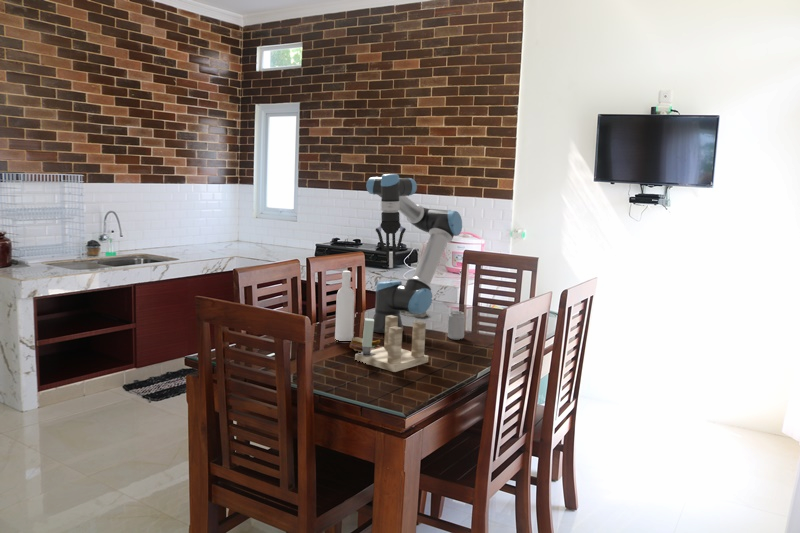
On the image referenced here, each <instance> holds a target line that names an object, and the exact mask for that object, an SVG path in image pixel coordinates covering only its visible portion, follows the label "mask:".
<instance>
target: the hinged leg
mask: <svg viewBox="0 0 800 533" xmlns="http://www.w3.org/2000/svg"><path fill="white" fill-rule="evenodd" d="M373 328H374V319H373V318H366V317H365V318H364V321H363V333H362V338H363V341H362V347H363V353H364V354H366V355H367V354H369V353H370V352H371V349H370V347H372V341H373V338H374V331H373Z"/></svg>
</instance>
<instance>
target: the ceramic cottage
mask: <svg viewBox="0 0 800 533" xmlns="http://www.w3.org/2000/svg"><path fill="white" fill-rule="evenodd" d="M400 315H403V316H407V317H411V318H413V317H414V318H424V317H426V316H427V311H426V312H424V313H422V314H418V313H411V312H406V311H400Z"/></svg>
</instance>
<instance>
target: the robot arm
mask: <svg viewBox="0 0 800 533" xmlns="http://www.w3.org/2000/svg"><path fill="white" fill-rule="evenodd" d="M365 188H366V191H367V193H368V194H371V195H377V196H379V197H380V198H381V201H380V202H381V204H380V206H381V208H380V209H381V211H382V212H381V222H380V226H378V227H376V228H375V232H376V233H377V236H378V239H379V243H380V246H381V250H382V252H385V254H386V256H385V257H386V260H387V261H388V265H389V266H388V268H389V269H394V260H395V261H396V253H397V252H398V251H401V250H400V249H401V245H402V241H403V237H404V233H406V227H404V226H402V225H401V222H400V219H401V218H400V217H401V216H400V214H402V215H403V216H404V217H406V220H407V221H408V223H410V224H411V225H412V226H413V227H416V228H418V229H419V230H421V231H423V232H425V233H428V234H429V238H428V239H427V240H428V241H427V242H426V245H425V248H424V249H423V252H422V253H421V257H420V259H419V261H418V264H417V266H416V268H415V270H414V273H413V274H412V277H410V278H408V279H407V281H406V283H405V284H403V283H402V281H401V280H385V281H378V282H377V283H376V286H375V287H376V288H375V303H374V304H375V307H374V310H375V311H374V315H373V318H372V319H374V328H373V333H378V334H379V333H380V334H385V319H386V316H390V315H393V316H397V317H398V327H401V328H402V332H403V331H404V325H403V321H402V317H401V314H400V311H406V312H411V313H418V314H422V313H424V312H426V313H427V311H428V310H429V309H430V307H431V306H432V303H433V292H432V291H431V290H432V287H431V286H430V285H431V283H432V279H433V277H434V275H435V273H436V271H437V269H438V266H439V263H440V261H441V259H442V257H443V255H444V251H445V249H446V248H447V247H446V246H447V245H448V243H450V242H451V243H452V241H453V238H454V237H456V236H457V237H458V236H460V234H461V233H462V231H463V230H462V229H463V220H462V216H461V214H460V213H459V212H458V211H456V210H451V209H436V208H426V207H423V206H422V205H420V204H416V203H415V202H414V201H413V200H411V199H410V198H409V196H412V195H414V194H415V193H416V192H417V190H418V184H417V182H416V180H414V179H413V178H411V177H404V178H403V177H400V175H399V174H398V173H385V174H382V175H381V176H372V177H369V178H368V179H367V181H366V187H365ZM382 230H383V232H384V233H385V243H384V239H383V235H382ZM398 231H399V232H400V234H399V238H398V242H397V247H396V234H397V233H398ZM390 234H391V235H392V236H391V237H392V238H391V239H392V240H391V241H392V244H391V246H392V248H391V249H392V250H391V251H390Z"/></svg>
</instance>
